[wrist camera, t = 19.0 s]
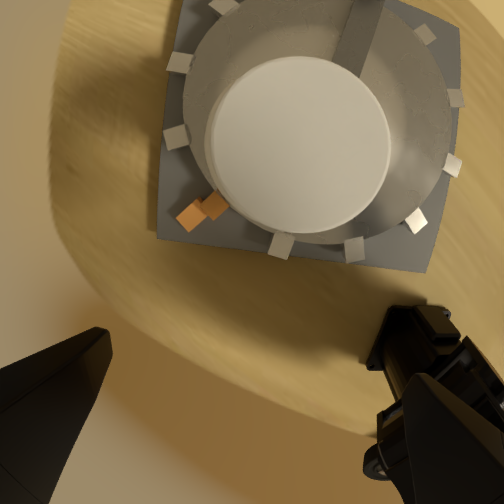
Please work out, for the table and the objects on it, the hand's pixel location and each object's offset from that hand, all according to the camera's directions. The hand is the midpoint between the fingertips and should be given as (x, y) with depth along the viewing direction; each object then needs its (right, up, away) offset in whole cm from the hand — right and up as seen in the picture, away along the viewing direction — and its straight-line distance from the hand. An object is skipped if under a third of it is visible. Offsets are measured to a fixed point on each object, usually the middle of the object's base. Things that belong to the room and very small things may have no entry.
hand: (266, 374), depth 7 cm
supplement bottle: (+1, +9, +8) cm, 12 cm away
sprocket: (+4, +12, +7) cm, 15 cm away
